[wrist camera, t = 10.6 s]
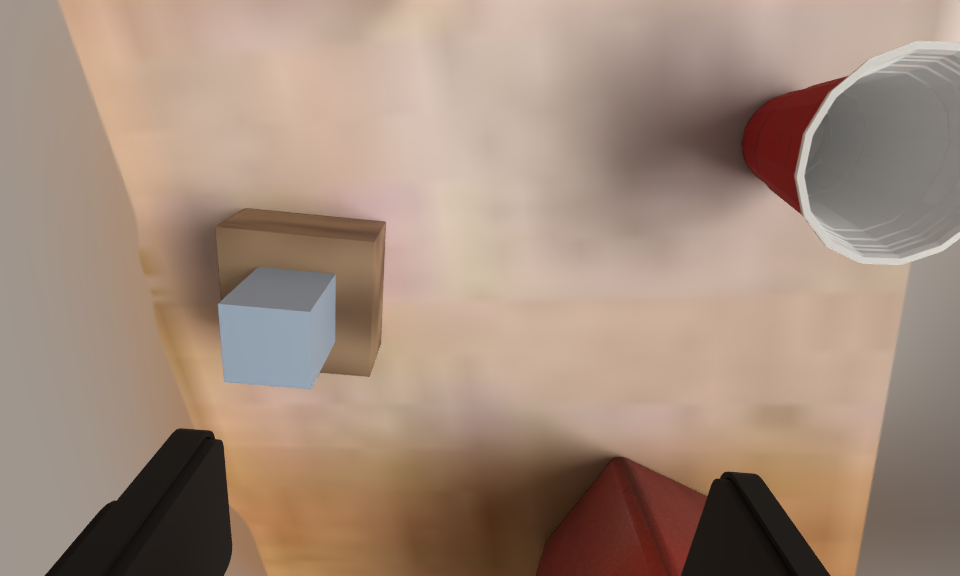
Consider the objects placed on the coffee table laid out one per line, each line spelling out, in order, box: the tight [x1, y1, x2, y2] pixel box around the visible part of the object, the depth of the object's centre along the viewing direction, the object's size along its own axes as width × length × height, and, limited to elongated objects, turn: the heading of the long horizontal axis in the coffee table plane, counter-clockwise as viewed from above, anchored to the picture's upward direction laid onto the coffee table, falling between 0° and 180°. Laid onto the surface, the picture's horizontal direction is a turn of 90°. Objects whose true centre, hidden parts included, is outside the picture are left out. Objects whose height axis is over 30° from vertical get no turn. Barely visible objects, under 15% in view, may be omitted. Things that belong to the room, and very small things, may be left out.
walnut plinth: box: [215, 208, 386, 377], centre depth 38 cm, size 10×10×5 cm
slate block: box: [218, 267, 336, 389], centre depth 33 cm, size 5×5×6 cm
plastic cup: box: [742, 41, 960, 265], centre depth 32 cm, size 11×11×12 cm
